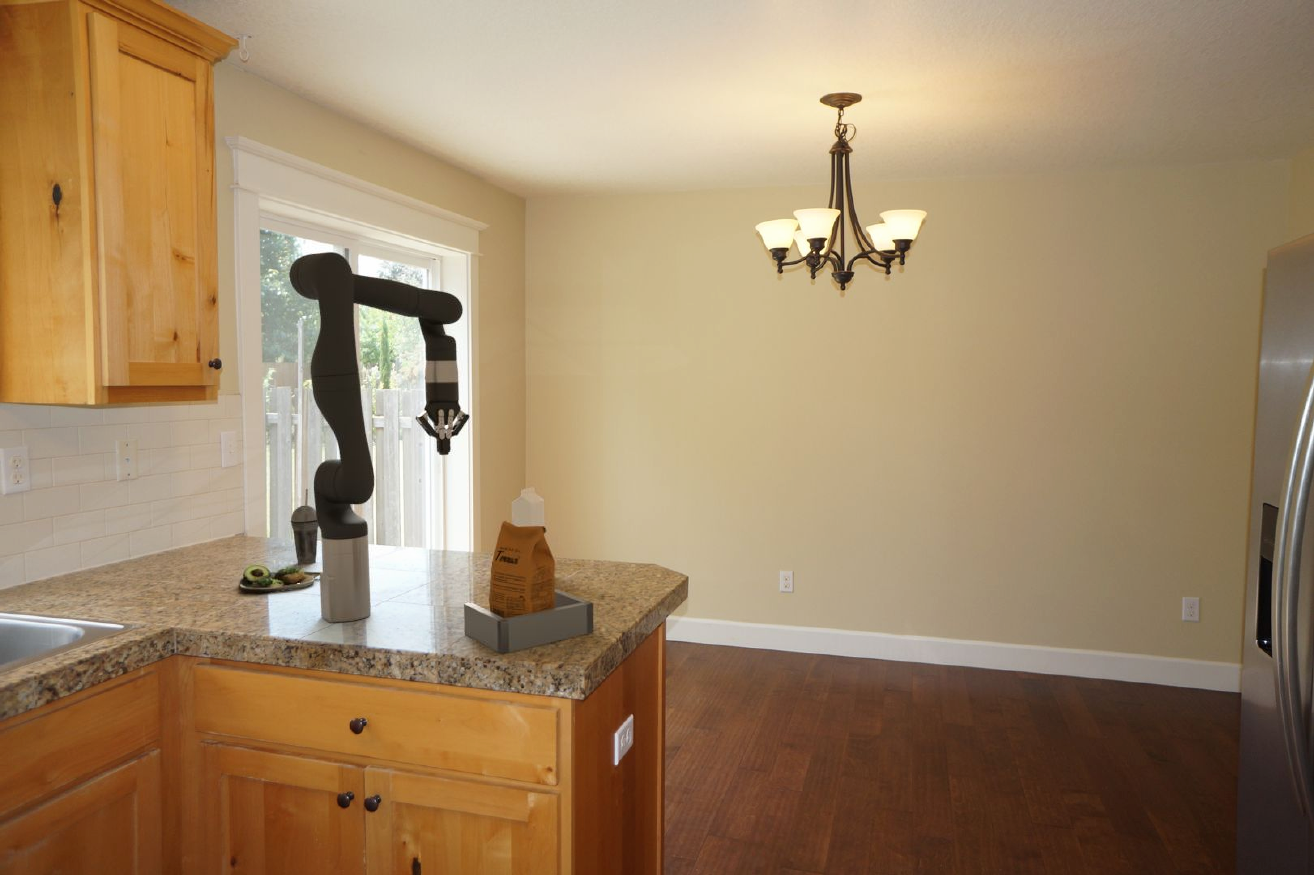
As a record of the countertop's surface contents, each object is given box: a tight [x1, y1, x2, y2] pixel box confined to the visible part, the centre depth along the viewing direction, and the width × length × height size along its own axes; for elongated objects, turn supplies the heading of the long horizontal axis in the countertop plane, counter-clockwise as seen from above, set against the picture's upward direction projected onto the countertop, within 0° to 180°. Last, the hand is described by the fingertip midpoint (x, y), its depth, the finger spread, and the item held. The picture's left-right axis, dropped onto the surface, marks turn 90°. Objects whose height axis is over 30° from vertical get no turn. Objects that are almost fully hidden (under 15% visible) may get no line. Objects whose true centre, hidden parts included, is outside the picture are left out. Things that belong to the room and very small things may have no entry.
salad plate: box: [239, 564, 321, 595], centre depth 209 cm, size 19×18×5 cm
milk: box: [510, 486, 546, 537], centre depth 215 cm, size 6×6×22 cm
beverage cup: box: [290, 488, 319, 565], centre depth 231 cm, size 7×7×20 cm
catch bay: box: [463, 588, 594, 655], centre depth 168 cm, size 20×16×6 cm
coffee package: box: [488, 520, 556, 618], centre depth 166 cm, size 10×12×22 cm
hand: (443, 454), depth 200 cm, fingers closed
